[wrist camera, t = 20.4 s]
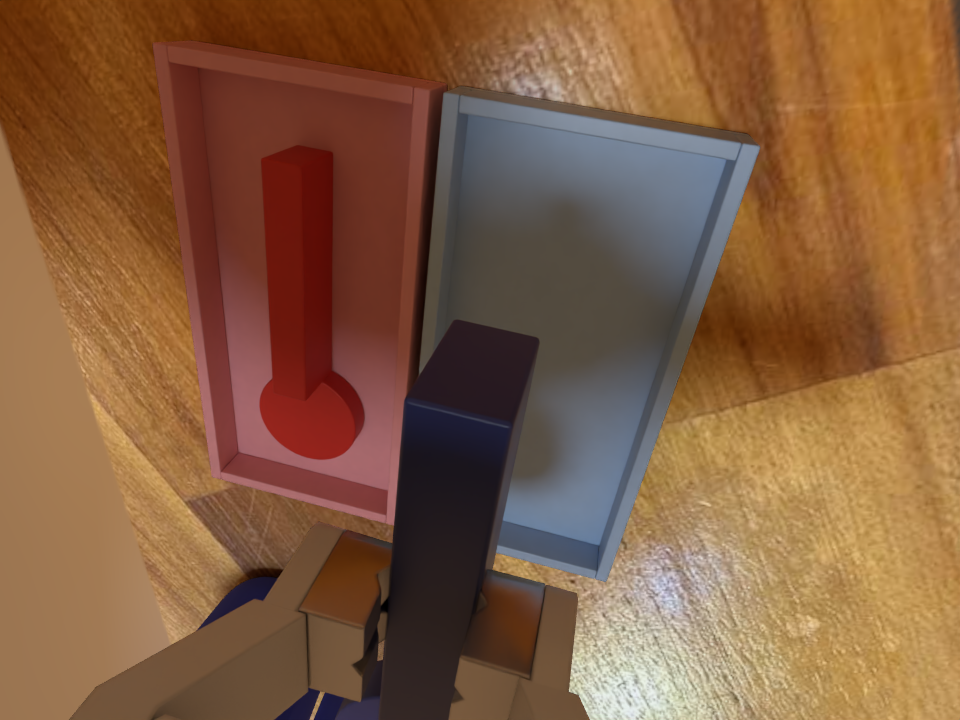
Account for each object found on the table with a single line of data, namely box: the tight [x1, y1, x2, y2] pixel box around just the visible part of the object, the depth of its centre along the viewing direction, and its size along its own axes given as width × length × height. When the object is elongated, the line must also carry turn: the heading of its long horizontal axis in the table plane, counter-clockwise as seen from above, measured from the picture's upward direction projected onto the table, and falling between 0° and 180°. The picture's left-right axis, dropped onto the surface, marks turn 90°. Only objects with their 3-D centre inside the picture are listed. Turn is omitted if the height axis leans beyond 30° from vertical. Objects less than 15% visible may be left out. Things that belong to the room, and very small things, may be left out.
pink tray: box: [153, 40, 447, 525], centre depth 24 cm, size 9×18×2 cm, turn 173°
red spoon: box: [259, 145, 364, 460], centre depth 23 cm, size 13×4×2 cm, turn 172°
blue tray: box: [419, 86, 760, 582], centre depth 22 cm, size 9×18×2 cm, turn 173°
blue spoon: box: [335, 319, 540, 720], centre depth 12 cm, size 13×4×2 cm, turn 172°
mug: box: [198, 577, 344, 720], centre depth 30 cm, size 8×12×10 cm
